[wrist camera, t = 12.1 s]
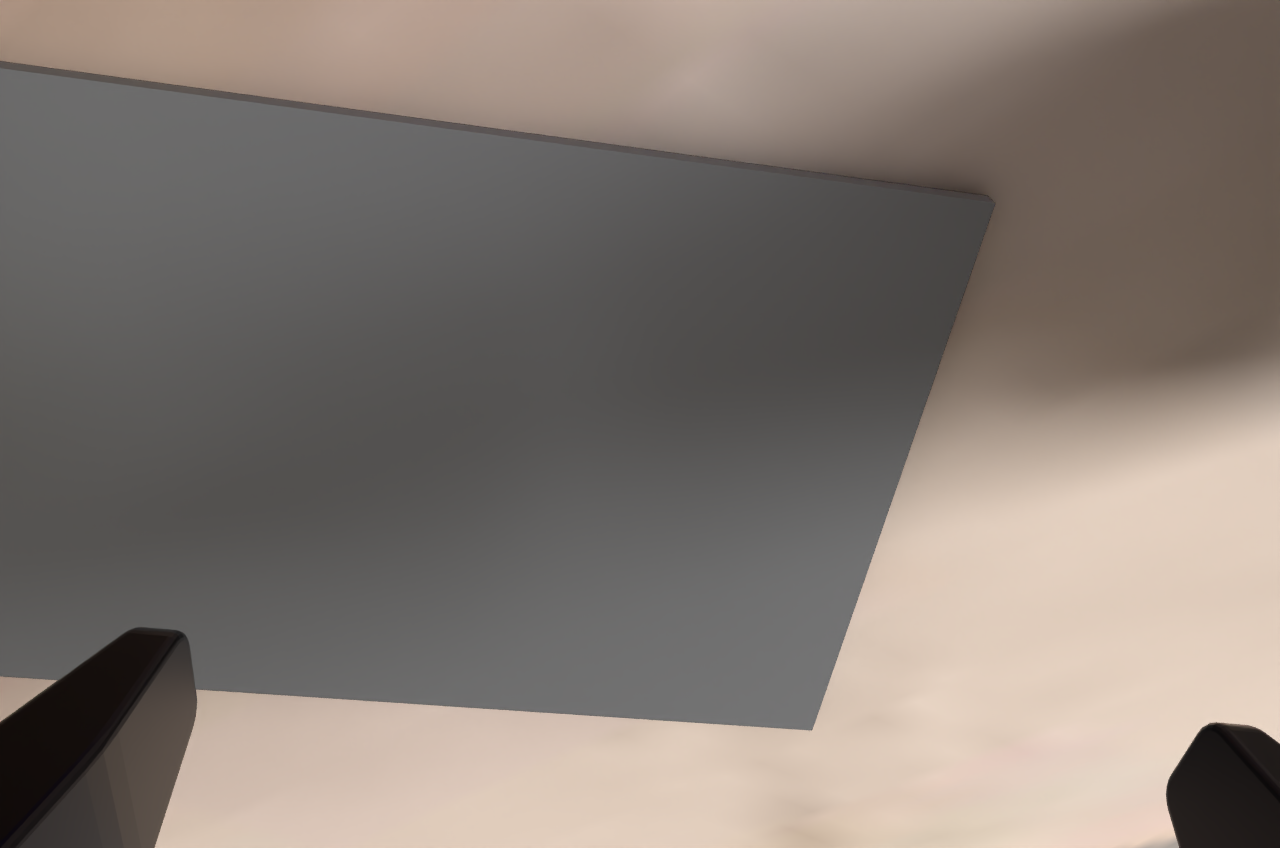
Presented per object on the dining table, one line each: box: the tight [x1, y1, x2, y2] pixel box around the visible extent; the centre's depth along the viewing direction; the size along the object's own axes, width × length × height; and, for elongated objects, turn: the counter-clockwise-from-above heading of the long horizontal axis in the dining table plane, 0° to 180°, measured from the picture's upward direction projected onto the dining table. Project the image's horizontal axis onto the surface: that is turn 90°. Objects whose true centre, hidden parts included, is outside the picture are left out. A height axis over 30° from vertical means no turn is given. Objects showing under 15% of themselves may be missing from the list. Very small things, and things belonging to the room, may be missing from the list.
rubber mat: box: [0, 61, 995, 730], centre depth 20 cm, size 28×14×1 cm, turn 81°
